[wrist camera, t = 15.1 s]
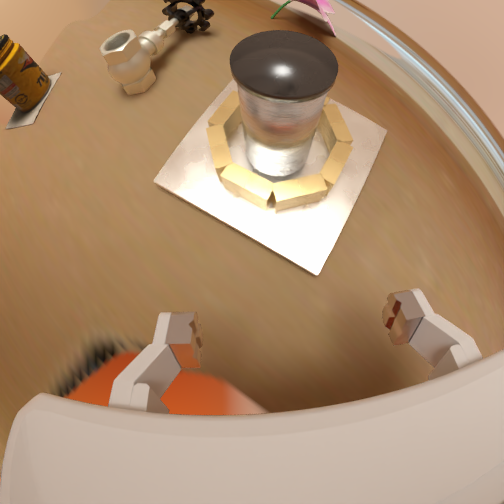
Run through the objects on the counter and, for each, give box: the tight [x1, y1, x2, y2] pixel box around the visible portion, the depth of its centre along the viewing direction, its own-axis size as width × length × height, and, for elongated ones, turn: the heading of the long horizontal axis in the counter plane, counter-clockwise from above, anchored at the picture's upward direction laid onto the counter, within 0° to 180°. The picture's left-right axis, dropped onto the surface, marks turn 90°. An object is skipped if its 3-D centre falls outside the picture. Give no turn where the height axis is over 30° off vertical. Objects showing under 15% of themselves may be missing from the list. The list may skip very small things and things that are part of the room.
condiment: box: [0, 35, 61, 129], centre depth 18 cm, size 7×8×12 cm
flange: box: [153, 79, 387, 276], centre depth 19 cm, size 14×14×3 cm
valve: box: [100, 0, 214, 95], centre depth 20 cm, size 7×7×12 cm
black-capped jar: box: [230, 30, 338, 176], centre depth 15 cm, size 5×5×9 cm
